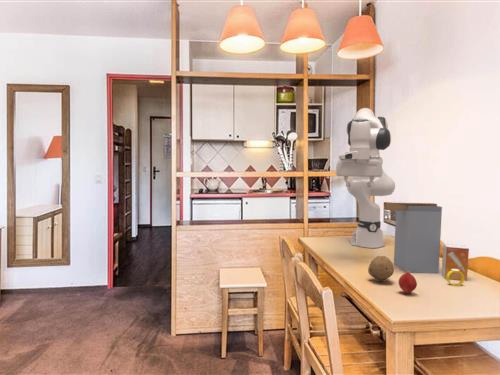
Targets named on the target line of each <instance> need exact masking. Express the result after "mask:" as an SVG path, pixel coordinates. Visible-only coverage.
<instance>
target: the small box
mask: <svg viewBox="0 0 500 375" xmlns="http://www.w3.org/2000/svg"><path fill="white" fill-rule="evenodd" d="M469 253H470V248H469V247H467V246H466V245H465V244H464V245H462V244H453V243H452V244H449V243H443V244H442V261H441V262H442V263H441V264H442V265H441V276H443V278H444V279H446V277H447V274H448V272H449V271H451V269H459V270H460V272H461V273H463V275H464V280H465V281H466V282H467V281H468V272H469V271H468V269H469V256H470V255H469ZM461 279H462V276H461V274H460V273H459V272H453V273H451V274H450V276H449V280H458V281H461ZM446 280H447V279H446Z"/></svg>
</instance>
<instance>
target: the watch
mask: <svg viewBox="0 0 500 375" xmlns="http://www.w3.org/2000/svg"><path fill="white" fill-rule="evenodd" d="M453 272H459V273H460V274H461V276H462V279H461V280H459V282H458V283H453V282H452V283H451V281H450V279H449V276H450V274H451V273H453ZM446 281H447V283H448V284H449V285H451V286H459V285H460V286H461V285H463V283H464V275H463V273H461V272H460V270H459V269H451V271H449V272H448V274H447V277H446Z"/></svg>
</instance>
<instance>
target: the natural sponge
mask: <svg viewBox="0 0 500 375" xmlns="http://www.w3.org/2000/svg"><path fill="white" fill-rule="evenodd" d="M367 270H368V275H369V276H371V277H373V278H374V279H375V280H376V281H378V282H384V281H386V280H388V279H389V278H391V277H392V276H393V275H394V272H395V266H394V262H393V261H391V259H390V257H387V256H385V255H378V256H375V257H373V259H372V260H371V262H370V263H369V266H368V268H367Z"/></svg>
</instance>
